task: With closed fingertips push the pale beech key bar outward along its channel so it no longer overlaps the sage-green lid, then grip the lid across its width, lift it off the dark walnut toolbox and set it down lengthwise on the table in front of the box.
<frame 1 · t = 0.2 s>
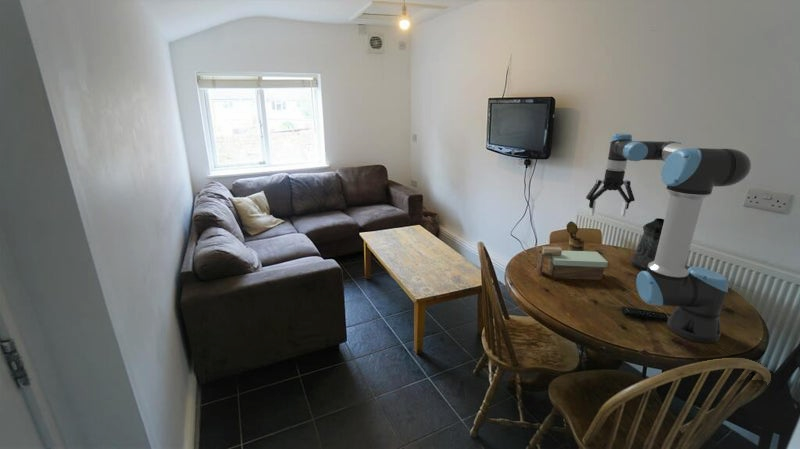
hand: (606, 215, 174), 28 cm above the table, fingers open, 13 cm apart
beer stein: (650, 269, 185), on the table
toolbox: (573, 274, 179), on the table
lid: (575, 260, 177), point 7 cm above the table, touching toolbox
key: (551, 250, 176), point 11 cm above the table, slide at 0.0 cm
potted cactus: (572, 258, 197), on the table
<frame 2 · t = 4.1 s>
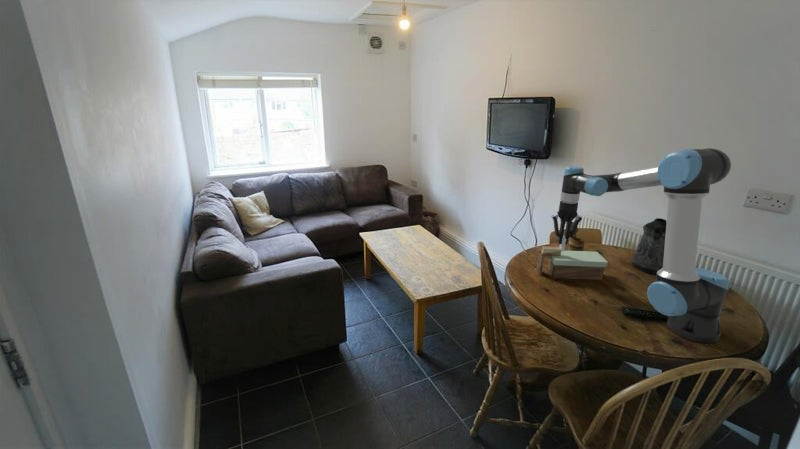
hand: (561, 250, 176), 12 cm above the table, fingers closed
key: (551, 250, 176), point 11 cm above the table, slide at 0.3 cm, touching gripper
everything else where it was.
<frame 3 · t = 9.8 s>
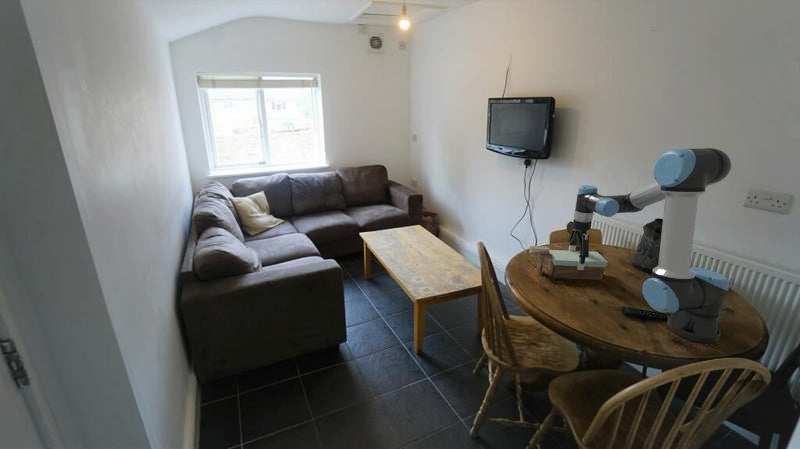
hand: (575, 263, 177), 5 cm above the table, fingers closed on lid, 12 cm apart
lid: (575, 260, 177), point 7 cm above the table, touching gripper, toolbox
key: (539, 250, 177), point 12 cm above the table, slide at 5.7 cm
everything else where it was.
when the fingers open (0 cm above the table, at t = 17.2 s): lid drops 2 cm, on the table.
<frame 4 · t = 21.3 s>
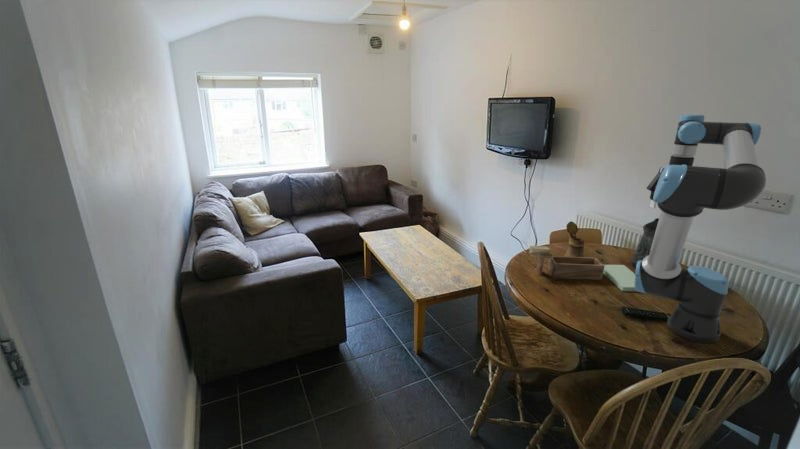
hand: (669, 208, 154), 37 cm above the table, fingers open, 13 cm apart
lid: (622, 280, 175), on the table
everything else where it was.
at the end: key slide at 5.7 cm; lid inside the target area (0.5 cm from its centre), on the table; lid tilted 0° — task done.
